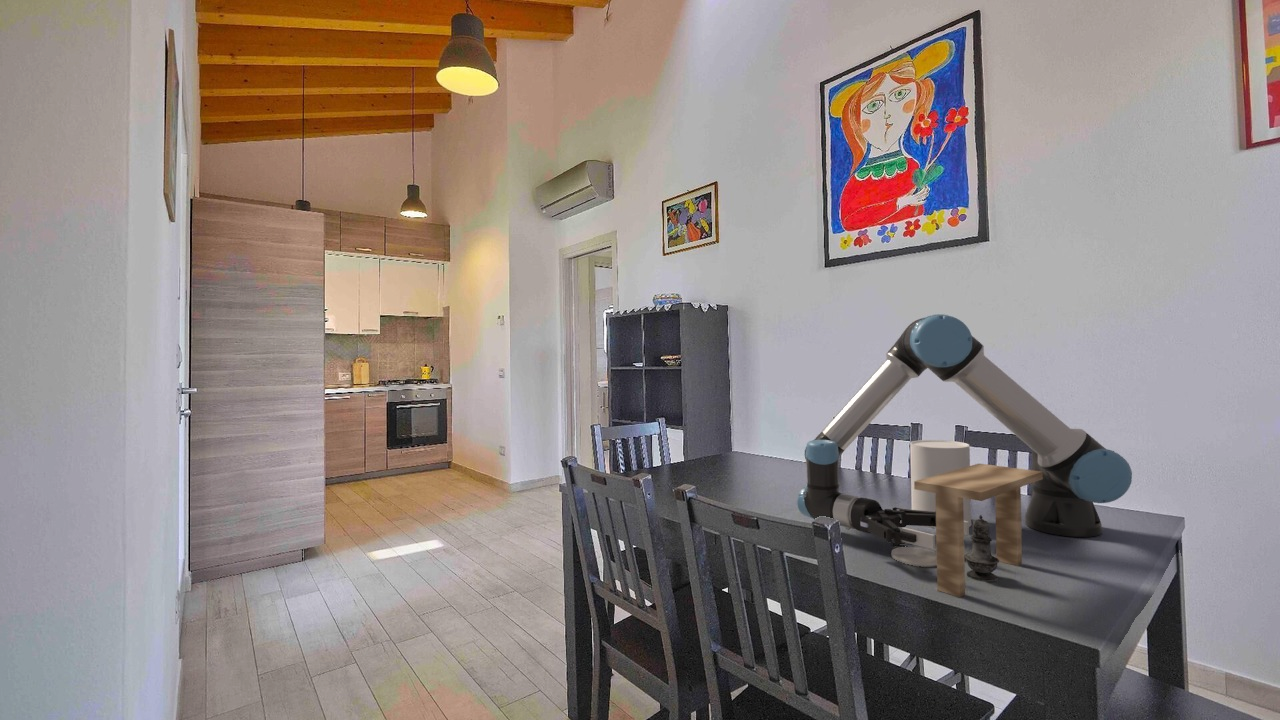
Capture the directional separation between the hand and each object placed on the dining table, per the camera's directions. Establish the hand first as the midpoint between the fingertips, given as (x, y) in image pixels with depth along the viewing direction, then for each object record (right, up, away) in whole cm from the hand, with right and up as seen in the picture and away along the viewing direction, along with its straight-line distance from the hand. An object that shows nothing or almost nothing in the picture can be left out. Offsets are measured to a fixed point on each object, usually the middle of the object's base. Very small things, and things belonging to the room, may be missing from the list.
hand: (951, 535), depth 118 cm
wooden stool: (+4, -7, -4) cm, 9 cm away
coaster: (-4, -7, +7) cm, 10 cm away
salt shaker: (+4, -7, -4) cm, 9 cm away
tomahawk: (0, -7, +24) cm, 25 cm away
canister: (+14, -6, +32) cm, 36 cm away
